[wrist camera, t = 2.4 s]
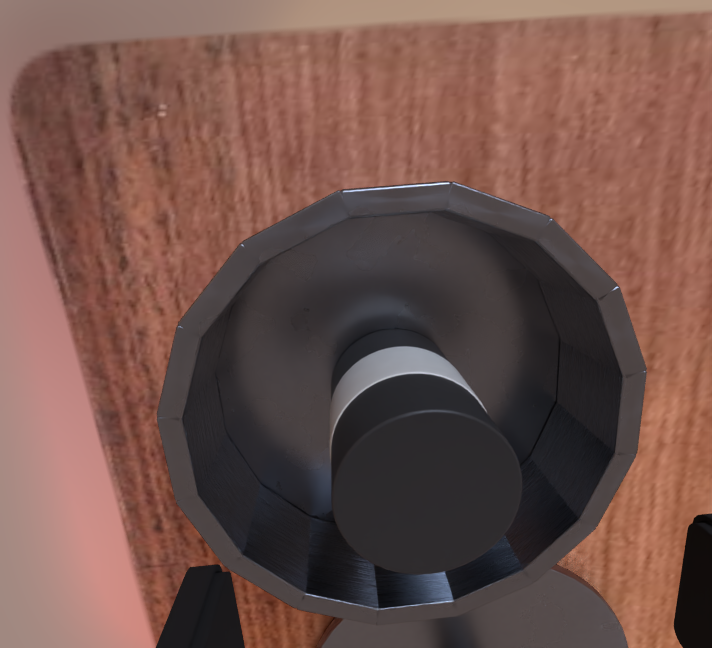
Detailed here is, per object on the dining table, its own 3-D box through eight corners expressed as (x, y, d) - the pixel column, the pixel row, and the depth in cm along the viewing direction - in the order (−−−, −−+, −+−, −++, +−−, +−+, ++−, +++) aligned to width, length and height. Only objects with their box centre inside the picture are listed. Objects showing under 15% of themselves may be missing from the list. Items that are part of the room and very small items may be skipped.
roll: (324, 333, 17) (319, 418, 10) (451, 321, 17) (529, 398, 10) (335, 446, 18) (338, 587, 12) (453, 434, 19) (522, 567, 12)
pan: (167, 206, 16) (107, 208, 12) (582, 173, 16) (672, 163, 12) (233, 550, 20) (207, 645, 16) (560, 516, 21) (620, 598, 16)
